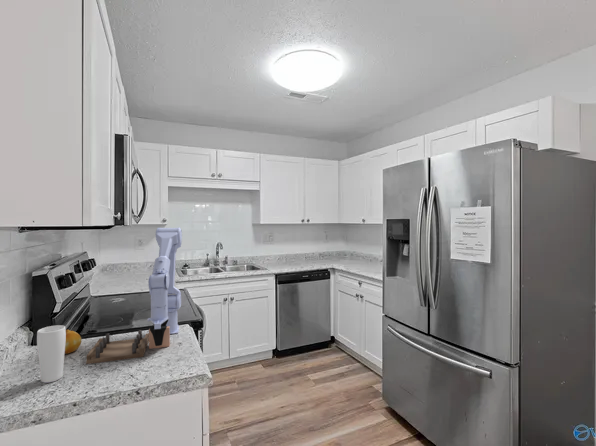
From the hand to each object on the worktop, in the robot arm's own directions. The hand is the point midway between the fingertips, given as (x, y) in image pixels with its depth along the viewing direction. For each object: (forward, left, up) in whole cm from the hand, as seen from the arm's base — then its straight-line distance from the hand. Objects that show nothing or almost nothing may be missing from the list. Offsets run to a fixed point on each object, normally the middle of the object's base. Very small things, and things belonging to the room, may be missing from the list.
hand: (159, 342), depth 118 cm
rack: (0, -13, -2) cm, 13 cm away
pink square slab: (0, 0, -2) cm, 2 cm away
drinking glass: (+16, -28, -2) cm, 32 cm away
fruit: (-6, -31, -2) cm, 32 cm away
